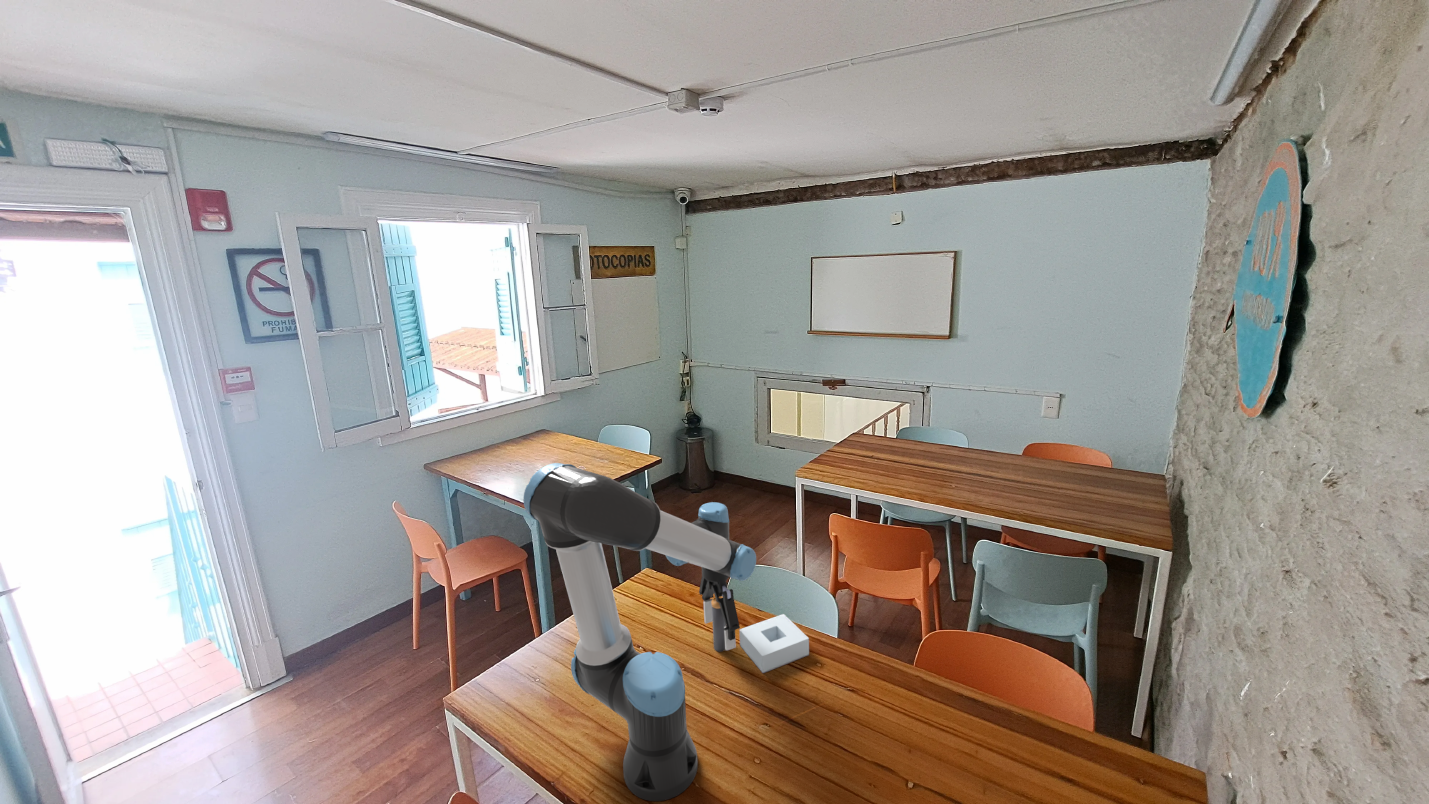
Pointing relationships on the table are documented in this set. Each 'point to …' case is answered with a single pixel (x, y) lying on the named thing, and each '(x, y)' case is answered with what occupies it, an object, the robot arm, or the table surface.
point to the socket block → (774, 643)
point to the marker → (718, 626)
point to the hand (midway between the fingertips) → (719, 634)
